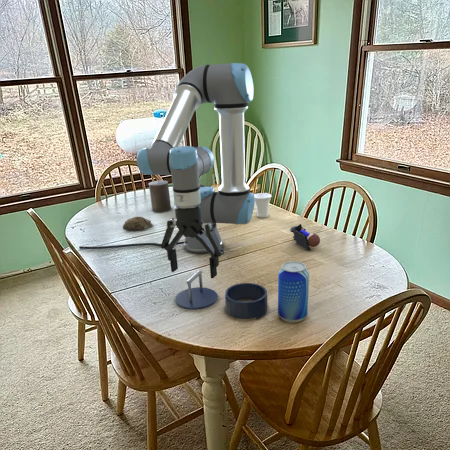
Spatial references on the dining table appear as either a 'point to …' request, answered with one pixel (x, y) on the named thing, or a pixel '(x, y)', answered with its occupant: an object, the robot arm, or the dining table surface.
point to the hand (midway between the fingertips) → (193, 273)
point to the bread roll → (137, 224)
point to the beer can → (293, 291)
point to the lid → (196, 295)
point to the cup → (262, 204)
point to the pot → (246, 308)
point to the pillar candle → (160, 196)
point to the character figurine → (305, 237)
